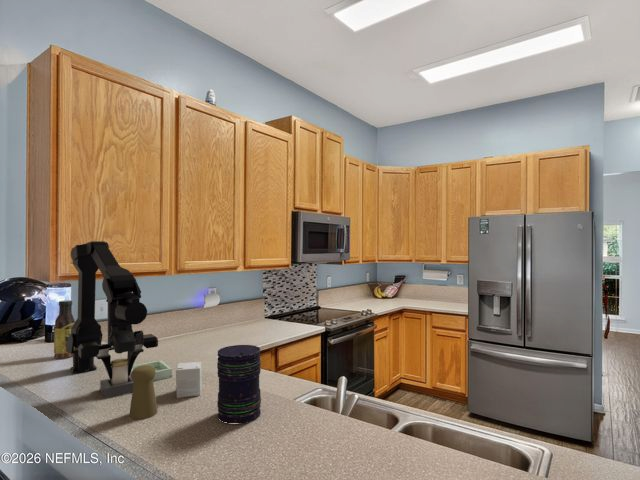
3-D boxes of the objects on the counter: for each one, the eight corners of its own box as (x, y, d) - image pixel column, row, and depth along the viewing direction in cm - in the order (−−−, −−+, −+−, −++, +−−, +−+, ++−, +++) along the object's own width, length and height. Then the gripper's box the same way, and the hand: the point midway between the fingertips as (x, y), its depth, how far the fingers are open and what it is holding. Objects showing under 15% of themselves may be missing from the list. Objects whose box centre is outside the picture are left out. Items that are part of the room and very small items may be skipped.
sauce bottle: (67, 359, 134) (67, 302, 134) (49, 359, 134) (49, 302, 134) (79, 354, 141) (79, 299, 141) (62, 354, 141) (62, 299, 141)
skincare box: (201, 387, 107) (201, 360, 107) (200, 396, 101) (200, 367, 101) (178, 389, 105) (178, 362, 105) (175, 398, 99) (175, 369, 99)
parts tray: (126, 374, 118) (126, 366, 118) (160, 368, 124) (160, 360, 124) (136, 384, 109) (136, 375, 109) (172, 377, 115) (172, 368, 115)
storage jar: (214, 410, 92) (214, 347, 92) (255, 403, 96) (254, 342, 96) (221, 428, 83) (220, 358, 83) (266, 420, 86) (265, 353, 87)
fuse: (109, 389, 105) (109, 360, 105) (126, 386, 108) (126, 357, 108) (112, 394, 102) (112, 364, 102) (129, 390, 105) (129, 361, 105)
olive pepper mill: (129, 422, 86) (129, 372, 86) (128, 411, 91) (128, 365, 92) (158, 416, 89) (158, 368, 89) (156, 406, 94) (156, 361, 94)
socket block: (100, 389, 106) (100, 380, 106) (131, 382, 111) (131, 374, 111) (105, 398, 99) (105, 388, 99) (139, 390, 104) (139, 381, 104)
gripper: (84, 329, 93) (84, 394, 93) (164, 319, 105) (164, 377, 105) (77, 322, 102) (77, 381, 102) (152, 314, 114) (152, 367, 113)
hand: (119, 377), depth 105 cm, fingers closed on fuse, 4 cm apart
